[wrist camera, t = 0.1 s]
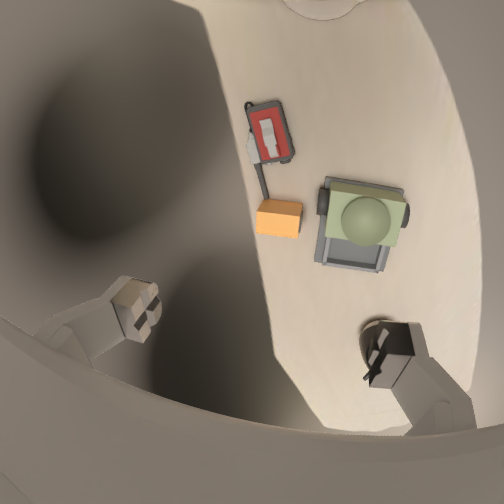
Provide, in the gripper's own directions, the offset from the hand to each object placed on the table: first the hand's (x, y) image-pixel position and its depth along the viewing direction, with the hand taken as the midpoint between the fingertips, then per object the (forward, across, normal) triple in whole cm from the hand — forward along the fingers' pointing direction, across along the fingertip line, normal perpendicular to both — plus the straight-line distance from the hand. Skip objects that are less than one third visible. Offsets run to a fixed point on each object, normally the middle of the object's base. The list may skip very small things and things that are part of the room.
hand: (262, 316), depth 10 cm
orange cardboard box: (+48, +5, +16) cm, 51 cm away
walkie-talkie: (+49, +8, +3) cm, 49 cm away
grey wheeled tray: (+48, -11, +17) cm, 52 cm away
